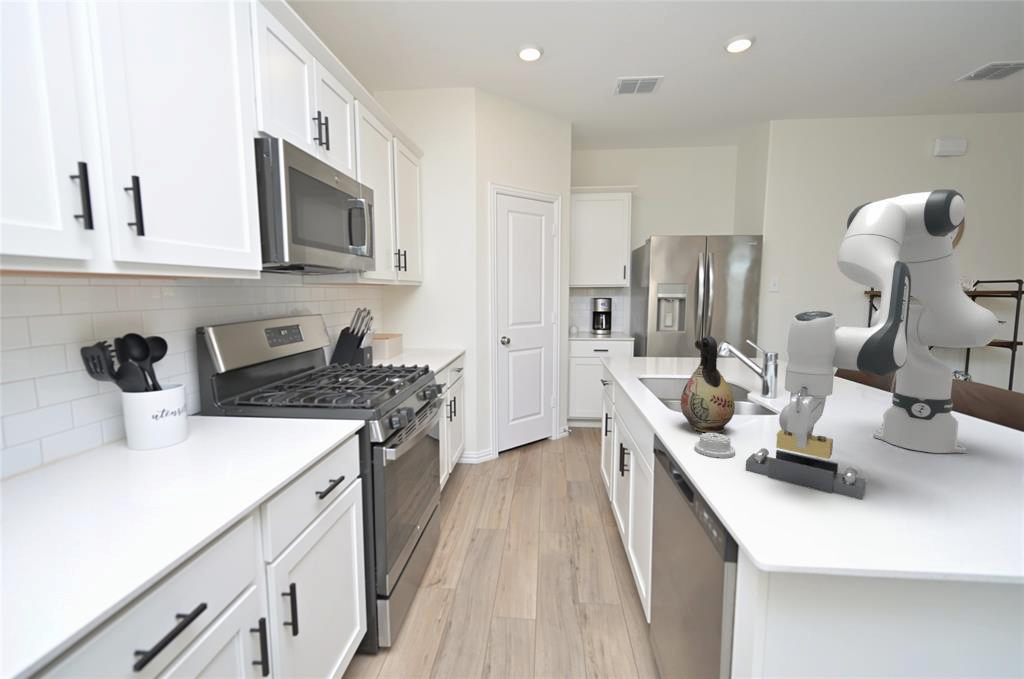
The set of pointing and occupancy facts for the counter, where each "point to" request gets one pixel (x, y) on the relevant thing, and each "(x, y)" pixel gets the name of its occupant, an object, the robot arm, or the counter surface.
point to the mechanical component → (715, 445)
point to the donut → (784, 417)
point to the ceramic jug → (707, 393)
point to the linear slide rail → (807, 472)
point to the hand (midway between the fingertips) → (804, 443)
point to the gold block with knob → (814, 447)
